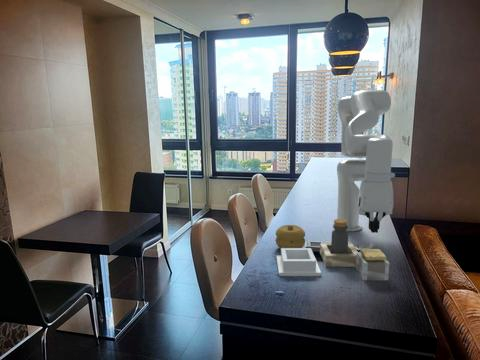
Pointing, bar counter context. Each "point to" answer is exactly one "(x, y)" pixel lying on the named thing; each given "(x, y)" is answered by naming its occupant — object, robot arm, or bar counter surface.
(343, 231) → the bottle
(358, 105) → the robot arm
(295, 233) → the pot
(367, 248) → the pliers
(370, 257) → the button
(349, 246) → the socket block
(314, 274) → the cradle
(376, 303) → the bar counter surface
